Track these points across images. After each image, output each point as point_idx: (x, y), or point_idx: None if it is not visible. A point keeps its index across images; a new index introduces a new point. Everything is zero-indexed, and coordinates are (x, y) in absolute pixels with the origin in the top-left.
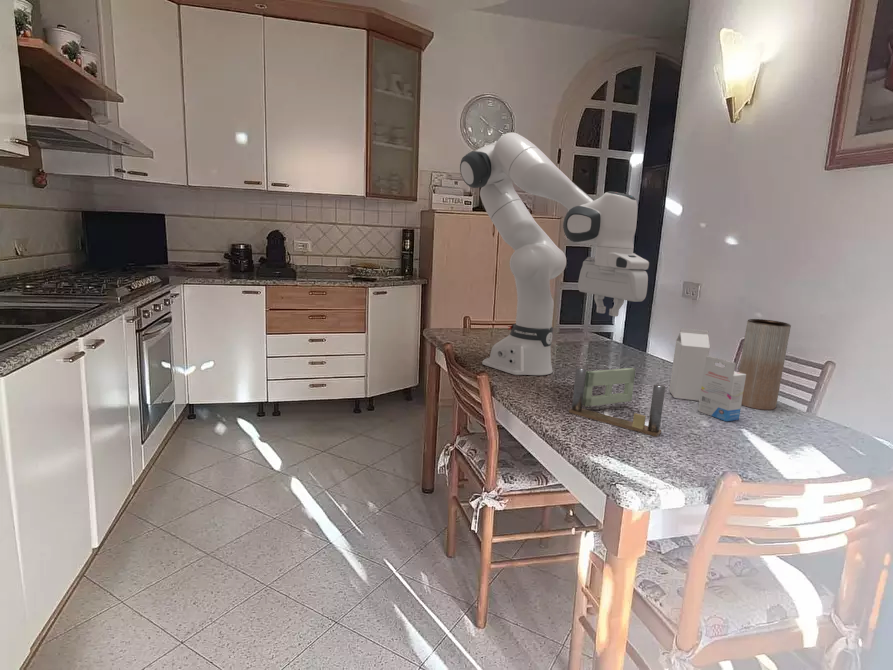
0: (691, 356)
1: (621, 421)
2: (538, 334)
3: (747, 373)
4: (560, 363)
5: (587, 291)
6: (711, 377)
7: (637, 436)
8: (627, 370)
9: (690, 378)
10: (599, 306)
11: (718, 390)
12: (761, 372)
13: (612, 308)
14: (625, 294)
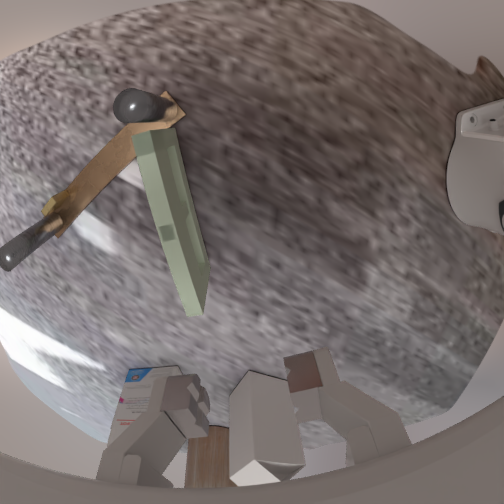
0: (242, 449)
1: (88, 181)
2: None
3: (205, 466)
4: (490, 269)
5: (497, 412)
6: None
7: (45, 183)
8: (178, 289)
9: (239, 414)
10: (309, 389)
11: (137, 402)
12: (189, 473)
13: (158, 415)
14: (2, 485)
